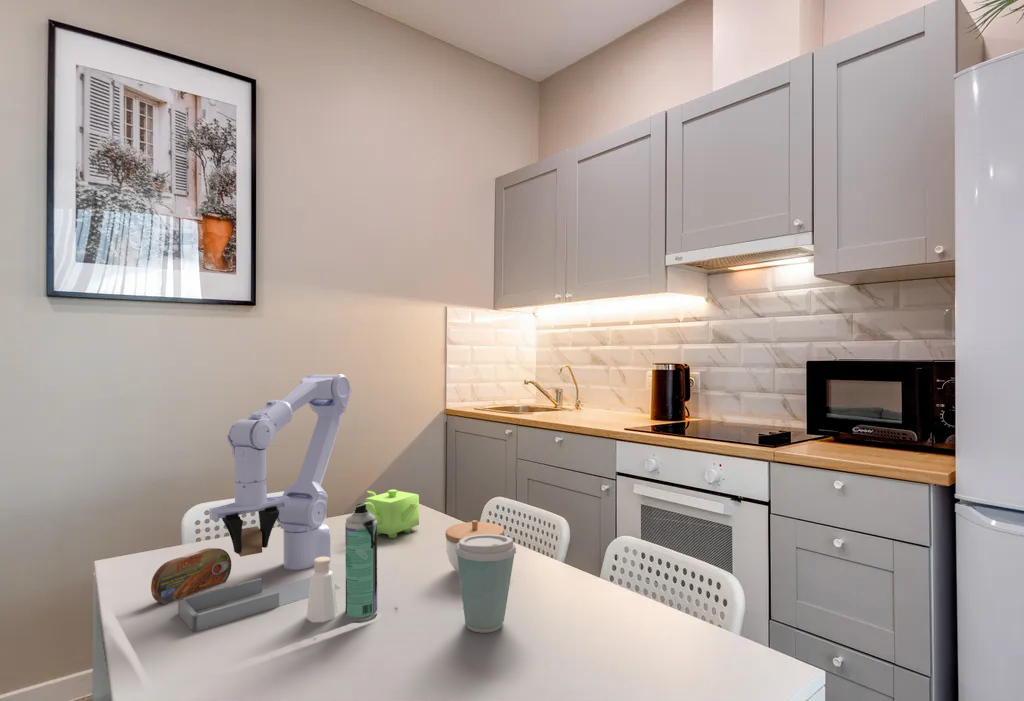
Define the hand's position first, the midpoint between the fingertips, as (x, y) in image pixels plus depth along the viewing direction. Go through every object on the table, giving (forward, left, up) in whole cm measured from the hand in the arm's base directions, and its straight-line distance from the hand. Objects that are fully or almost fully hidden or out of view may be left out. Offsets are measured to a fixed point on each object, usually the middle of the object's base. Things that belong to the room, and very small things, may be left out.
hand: (251, 549), depth 113 cm
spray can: (-11, +24, -9) cm, 28 cm away
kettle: (-41, -16, -9) cm, 45 cm away
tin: (+9, -7, -9) cm, 14 cm away
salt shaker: (-5, +21, -9) cm, 23 cm away
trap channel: (+1, +7, -9) cm, 11 cm away
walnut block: (0, -2, -1) cm, 2 cm away
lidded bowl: (-39, +22, -9) cm, 46 cm away
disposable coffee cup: (-25, +42, -9) cm, 50 cm away
